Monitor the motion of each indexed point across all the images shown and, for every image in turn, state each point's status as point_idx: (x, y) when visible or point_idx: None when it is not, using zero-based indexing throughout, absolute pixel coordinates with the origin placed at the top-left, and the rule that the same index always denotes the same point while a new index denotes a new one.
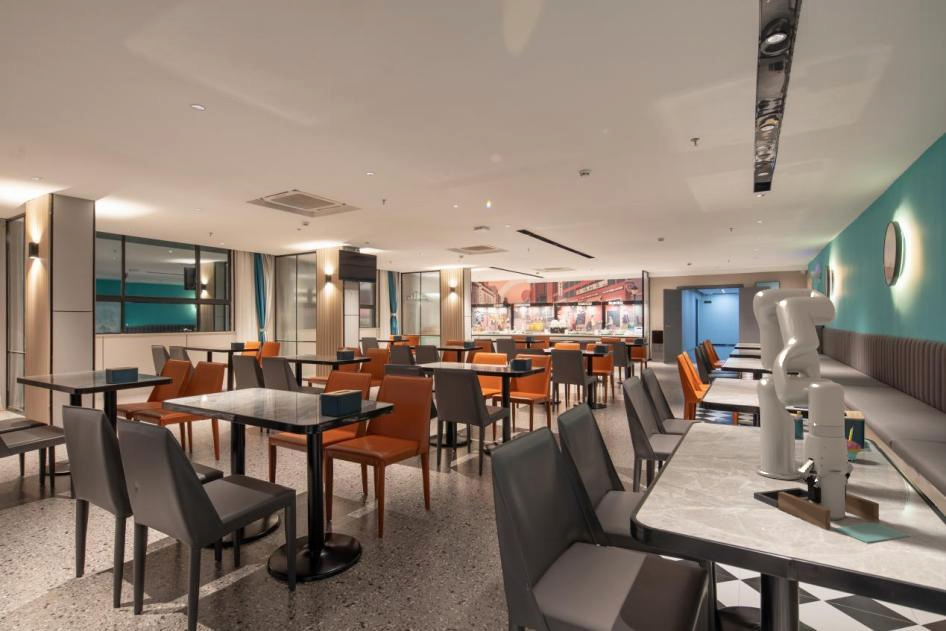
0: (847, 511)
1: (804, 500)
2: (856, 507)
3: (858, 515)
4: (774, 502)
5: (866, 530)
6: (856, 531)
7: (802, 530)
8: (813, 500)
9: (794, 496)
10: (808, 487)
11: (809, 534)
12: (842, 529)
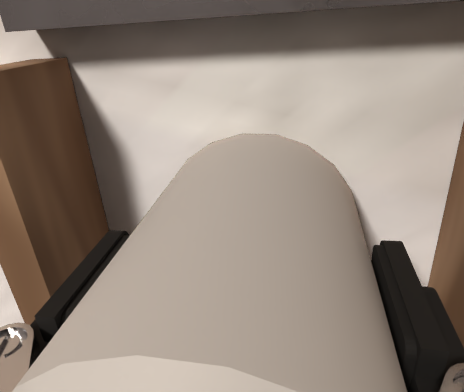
0: (443, 220)
1: (34, 273)
2: (449, 302)
3: (431, 280)
4: (6, 7)
5: None
6: None
7: (5, 293)
8: None
9: (8, 199)
10: (34, 322)
11: (11, 322)
12: None
